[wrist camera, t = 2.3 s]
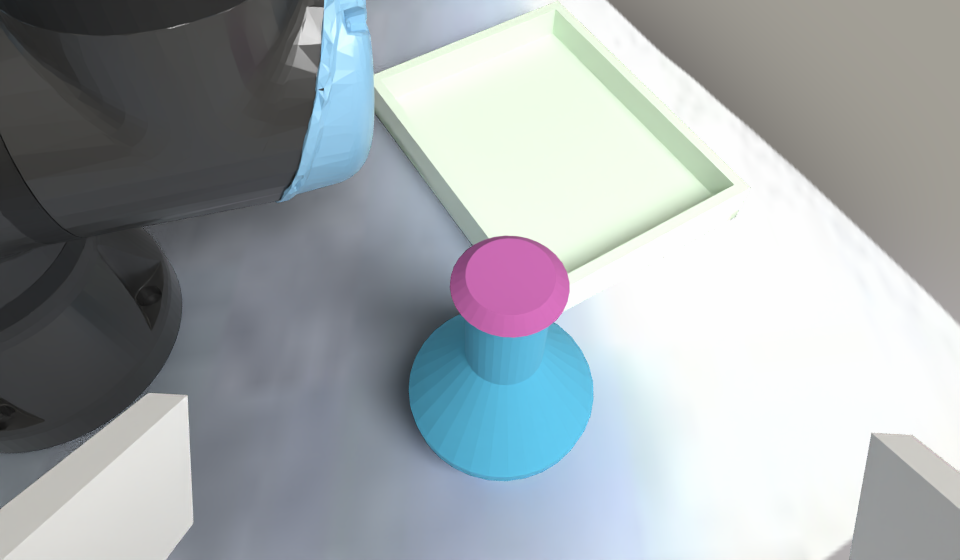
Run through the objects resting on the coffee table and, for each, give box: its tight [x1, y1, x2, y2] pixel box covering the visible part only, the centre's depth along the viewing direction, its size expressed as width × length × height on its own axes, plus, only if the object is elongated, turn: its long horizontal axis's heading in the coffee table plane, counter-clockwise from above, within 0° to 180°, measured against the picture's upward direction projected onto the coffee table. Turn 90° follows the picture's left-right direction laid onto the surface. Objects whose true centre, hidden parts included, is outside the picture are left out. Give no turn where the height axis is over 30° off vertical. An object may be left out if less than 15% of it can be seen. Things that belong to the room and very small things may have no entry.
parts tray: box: [374, 1, 750, 312], centre depth 49 cm, size 21×16×3 cm
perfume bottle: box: [409, 235, 593, 481], centre depth 34 cm, size 9×9×15 cm
